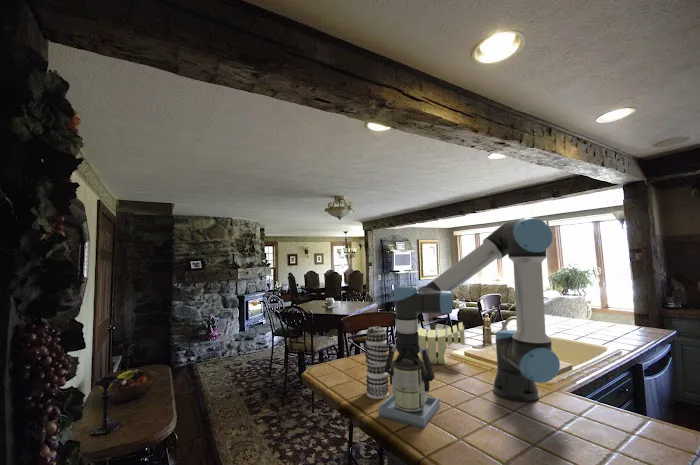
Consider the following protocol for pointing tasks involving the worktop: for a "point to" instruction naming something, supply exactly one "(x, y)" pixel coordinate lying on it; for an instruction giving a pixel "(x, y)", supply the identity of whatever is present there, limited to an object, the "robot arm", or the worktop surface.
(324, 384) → the worktop surface
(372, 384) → the decorative candle
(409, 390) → the coffee can
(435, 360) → the slatted curved stool
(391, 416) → the tray
